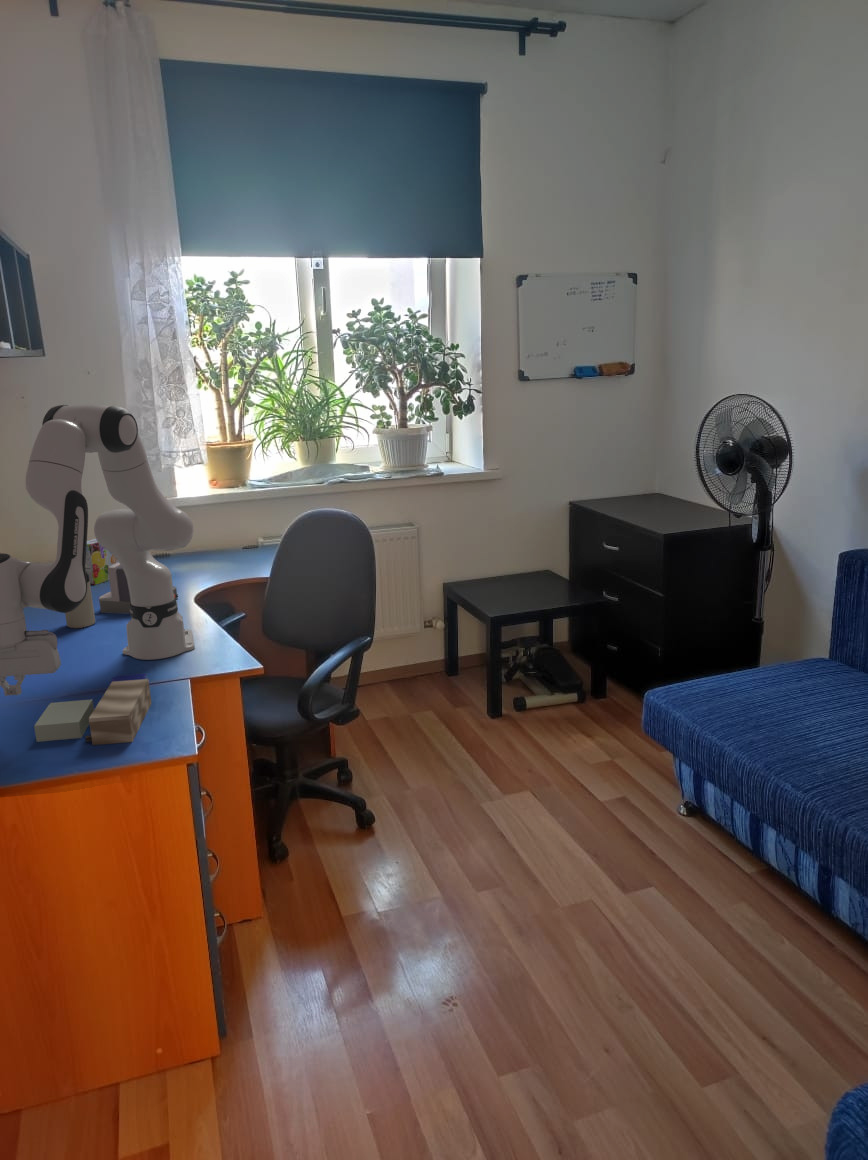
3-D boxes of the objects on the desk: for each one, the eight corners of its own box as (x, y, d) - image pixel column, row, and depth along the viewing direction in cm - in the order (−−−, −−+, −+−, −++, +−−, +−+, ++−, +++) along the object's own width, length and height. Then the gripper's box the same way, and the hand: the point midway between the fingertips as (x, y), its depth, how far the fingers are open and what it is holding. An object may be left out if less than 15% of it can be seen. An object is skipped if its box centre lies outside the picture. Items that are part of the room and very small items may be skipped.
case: (53, 719, 189) (50, 702, 188) (95, 715, 190) (92, 699, 189) (36, 743, 178) (33, 725, 177) (81, 739, 179) (79, 721, 178)
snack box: (129, 569, 317) (123, 530, 313) (140, 570, 315) (135, 531, 311) (84, 584, 299) (78, 542, 295) (95, 585, 297) (89, 543, 293)
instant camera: (136, 593, 286) (130, 550, 282) (187, 598, 279) (182, 553, 275) (91, 612, 266) (85, 566, 262) (146, 617, 260) (140, 570, 255)
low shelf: (106, 706, 194) (103, 682, 193) (151, 703, 195) (148, 678, 194) (82, 745, 175) (78, 719, 173) (132, 741, 176) (128, 715, 174)
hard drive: (141, 691, 200) (146, 672, 211) (105, 695, 198) (111, 676, 209) (142, 697, 200) (147, 678, 212) (105, 701, 198) (112, 682, 210)
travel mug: (85, 629, 249) (76, 570, 244) (61, 628, 251) (52, 569, 246) (100, 620, 257) (92, 563, 252) (77, 620, 258) (68, 562, 254)
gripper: (59, 624, 181) (68, 685, 184) (-42, 630, 179) (-31, 692, 182) (50, 633, 175) (59, 696, 178) (-55, 640, 172) (-43, 703, 176)
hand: (13, 694), depth 180 cm, fingers closed
